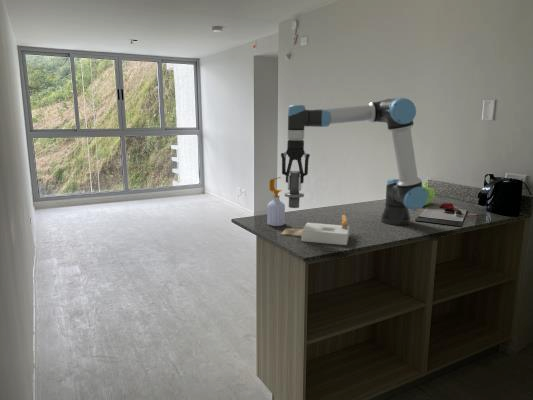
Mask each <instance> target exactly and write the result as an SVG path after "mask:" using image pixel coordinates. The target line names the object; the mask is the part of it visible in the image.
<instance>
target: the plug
mask: <svg viewBox="0 0 533 400" xmlns="http://www.w3.org/2000/svg"><path fill="white" fill-rule="evenodd" d="M289 175H290V190H289V192H285V193H284V197H286V198H288V208H289V209H290V208H291V209H298V208H300V198H304V196H305V194H304V193H302V192H300V191H298V188H299V176H300V171H299V170H290V174H289Z"/></svg>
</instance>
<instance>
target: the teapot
mask: <svg viewBox="0 0 533 400" xmlns="http://www.w3.org/2000/svg"><path fill="white" fill-rule="evenodd" d="M427 184H428V181H424V183H422V187H423V188H424V189H425V190H426V191H427V193H428V199H427V202H426V203H425V204H424V206H428V205H429V204H430V203H431V201H433V200H434V199H436V196H437V195H436V191H435V188H434V187H428V185H427ZM424 206H423V207H424Z"/></svg>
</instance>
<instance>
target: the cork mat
mask: <svg viewBox="0 0 533 400" xmlns="http://www.w3.org/2000/svg"><path fill="white" fill-rule="evenodd" d="M302 229H303V228H302ZM302 229H301V228H291V227H285V229H283V231H281V234H280V235H281V236H292V237H302Z"/></svg>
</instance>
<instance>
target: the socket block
mask: <svg viewBox="0 0 533 400" xmlns="http://www.w3.org/2000/svg"><path fill="white" fill-rule="evenodd" d="M300 237H301V236H300ZM349 237H350V225H348V224H347V225H342V224H331V223H330V224H329V223H328V224H327V223H318V222H317V223H316V222H306V224H305V225H304V226H303V228H302V237H301V238H300V239H301V242H308V243H317V244H318V243H319V244H320V243H321V244H328V245H329V244H330V245H331V244H332V245H338V246H339V245H340V246H344V245H345V246H347V245H348V241H349V239H350V238H349Z"/></svg>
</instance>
